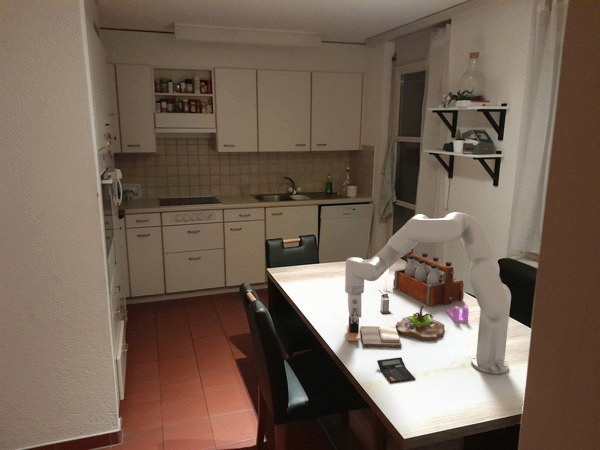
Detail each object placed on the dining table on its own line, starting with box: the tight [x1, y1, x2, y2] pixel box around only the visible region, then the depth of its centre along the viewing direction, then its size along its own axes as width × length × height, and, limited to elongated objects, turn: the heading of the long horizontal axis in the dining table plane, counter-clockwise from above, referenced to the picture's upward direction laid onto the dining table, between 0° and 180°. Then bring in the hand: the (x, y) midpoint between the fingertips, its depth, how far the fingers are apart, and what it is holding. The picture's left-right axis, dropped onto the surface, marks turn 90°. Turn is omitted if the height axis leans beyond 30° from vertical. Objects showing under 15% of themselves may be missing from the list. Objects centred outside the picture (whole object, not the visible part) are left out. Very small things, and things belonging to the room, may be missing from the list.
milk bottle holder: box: [392, 250, 465, 307], centre depth 237 cm, size 21×35×19 cm, turn 25°
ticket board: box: [359, 325, 402, 349], centre depth 189 cm, size 16×15×3 cm
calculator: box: [376, 357, 417, 384], centre depth 163 cm, size 9×12×3 cm
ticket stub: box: [346, 316, 362, 341], centre depth 189 cm, size 12×5×7 cm, turn 177°
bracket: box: [446, 305, 470, 324], centre depth 210 cm, size 13×6×7 cm, turn 2°
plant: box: [395, 304, 445, 342], centre depth 196 cm, size 20×20×11 cm
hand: (353, 327), depth 189 cm, fingers open, 9 cm apart
